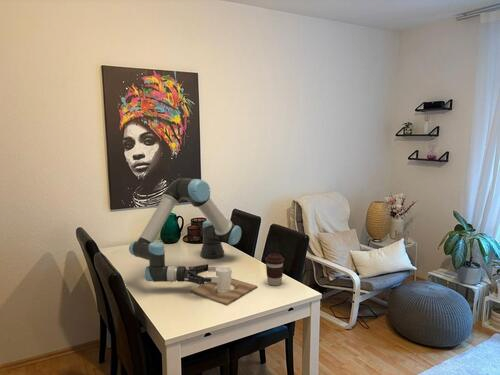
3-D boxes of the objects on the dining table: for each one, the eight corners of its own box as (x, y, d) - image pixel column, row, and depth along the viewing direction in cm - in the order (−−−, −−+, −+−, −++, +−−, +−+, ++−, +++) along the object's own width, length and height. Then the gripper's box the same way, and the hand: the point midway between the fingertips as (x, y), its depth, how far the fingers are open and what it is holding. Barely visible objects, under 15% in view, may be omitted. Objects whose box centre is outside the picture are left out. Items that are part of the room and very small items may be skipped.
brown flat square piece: (221, 277, 203) (221, 271, 203) (257, 287, 189) (257, 282, 189) (189, 292, 184) (189, 286, 184) (227, 305, 170) (227, 299, 170)
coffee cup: (286, 280, 198) (286, 253, 196) (281, 288, 189) (281, 259, 186) (268, 278, 201) (268, 251, 199) (262, 285, 192) (262, 257, 190)
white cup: (219, 292, 181) (219, 272, 180) (213, 286, 188) (213, 267, 187) (234, 289, 185) (234, 270, 184) (227, 283, 192) (227, 265, 190)
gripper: (182, 271, 198) (222, 271, 198) (171, 291, 174) (217, 291, 173) (181, 258, 197) (221, 258, 197) (171, 276, 173) (217, 276, 172)
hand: (219, 273), depth 185 cm, fingers open, 13 cm apart
